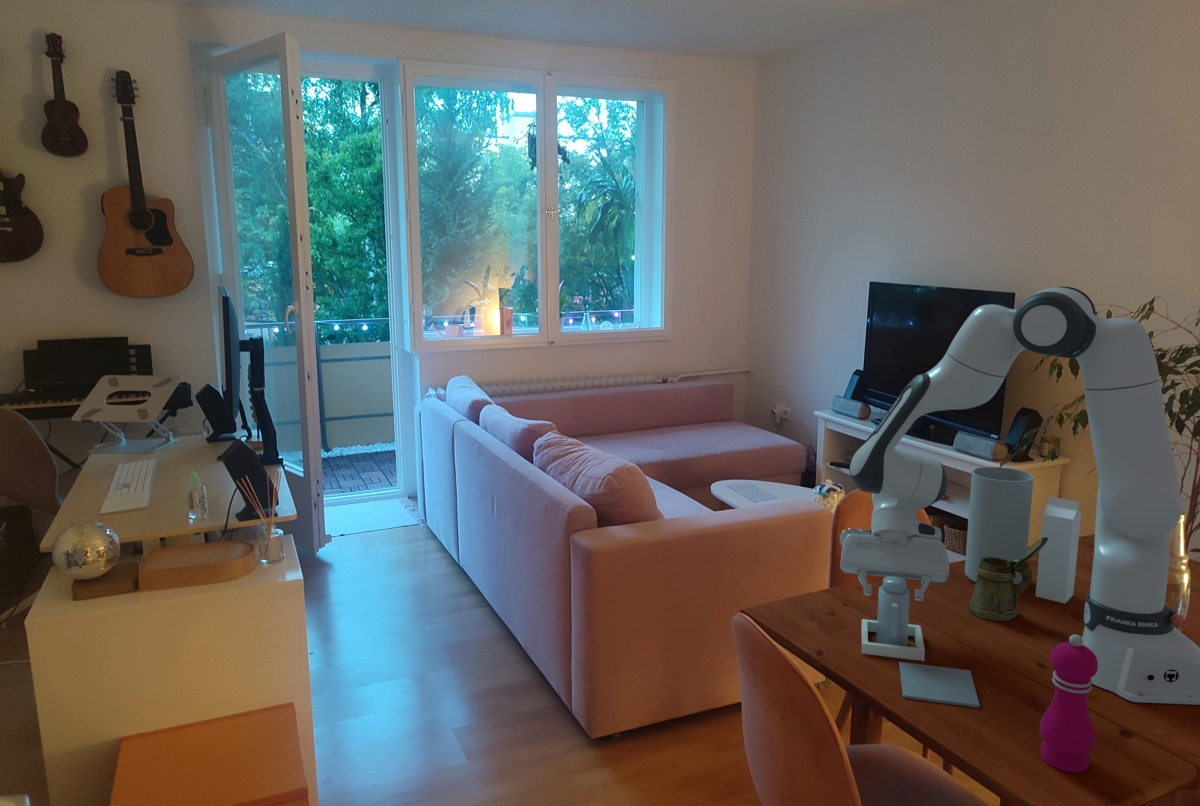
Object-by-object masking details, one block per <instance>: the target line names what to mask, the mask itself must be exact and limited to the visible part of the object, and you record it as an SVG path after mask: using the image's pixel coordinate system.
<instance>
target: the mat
mask: <svg viewBox="0 0 1200 806" xmlns="http://www.w3.org/2000/svg"><path fill="white" fill-rule="evenodd" d="M898 665H899V674H900V684H901V691H902V698H903V699H909V700H915V701H916V700H917V701H924V702H932V703H938V704H939V703H940V704H947V705H954V706H963V707H969V708H977V709H980V707H981V706H980V701H979V698H978V694H977V690H976V687H975V683H974V679H973V677H972V671H971V669H970V670H969V669H961V668H953V667H944V666H938V665H937V666H935V665H927V664H922V663H921V664H919V663H913V662H912V663H911V662H906V661H905V662H904V661H899V662H898Z"/></svg>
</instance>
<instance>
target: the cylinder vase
mask: <svg viewBox="0 0 1200 806" xmlns="http://www.w3.org/2000/svg"><path fill="white" fill-rule="evenodd" d="M1034 479H1035V478H1034V475H1033V474H1032V473H1029V472H1027V471H1024V470H1020V469H1018V468H1011V467H1003V466H981V467H976V468H973V469H972V470H971V480H970V482H971V483H970V496H969V506H968V507H969V508H968V509H969V510H968V522H967V533H966V535H967V537H966V548H965V549H966V551H965V552H966V553H965V564H964V575H965V576H966V577H967V578H968V579H969V580H970V581H972V582H974V583H976V579H977V575H978V573H977V567H978V565H979V564H980V561H981V558H983V557H998V558H1003V559H1006V560H1008V561H1009V562H1011V560H1020V559H1021V557H1022V556H1023V555H1024V553H1025V552H1026V551H1027V550H1028V549H1029V548H1028V547H1029V535H1030V534H1029V533H1030V524H1031V514H1032V513H1031V511H1032V499H1033V492H1034V491H1033V488H1034ZM1015 574H1016V578H1014V579H1013V583H1014V584H1019V583H1020V582H1021V581H1022V576H1021V574H1020V573H1019V572H1015Z"/></svg>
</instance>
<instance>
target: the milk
mask: <svg viewBox="0 0 1200 806" xmlns="http://www.w3.org/2000/svg"><path fill="white" fill-rule="evenodd" d="M1079 505H1080V504H1079V501H1074V500H1069V499H1065V498H1058V497H1054V496H1053V497H1052V496H1049V497H1047V504H1046V505H1045V508H1044V510H1043V513H1042V518H1041V519H1042V520H1041V527H1040V528H1041V529H1040V539H1041V538H1044V537H1047V538H1048V541H1047V542H1046V544H1045V545H1044V546H1043V547H1042V548H1041V550H1039V551H1038V564H1037V576H1036V587H1035V597H1037V598H1041V599H1045V600H1049V601H1053V602H1056V603H1061V604H1065V605H1066V603H1068V602H1069V600H1070V599H1071V598H1073V596H1074V590H1075V589H1074V588H1075V578H1076V570H1077V560H1078V559H1077V557H1078V548H1079V538H1080V530H1081V518H1082V513H1081V511H1080V510H1079Z"/></svg>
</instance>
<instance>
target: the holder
mask: <svg viewBox="0 0 1200 806" xmlns="http://www.w3.org/2000/svg"><path fill="white" fill-rule="evenodd" d="M921 627H922V626H921V625H919V624H909V623H908V636H907V637H914V640H915V641H916V642H915V647H914V646H907V647H906V646H898V645H889V644H881V643H876V642H871V641H869V638H868V637H869V635H868V632H871V633H872V632H873V633H877V620H874V619H866V618H865V619H864V618H862V619H861V654H863V655H872V656H877V657H878V656H880V657H888V658H895V659H896V658H897V659H902V660H903V659H904V660H913V661H919V660H921V662H925V653H926V650H925V644H924V640H923V631H922V628H921Z"/></svg>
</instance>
